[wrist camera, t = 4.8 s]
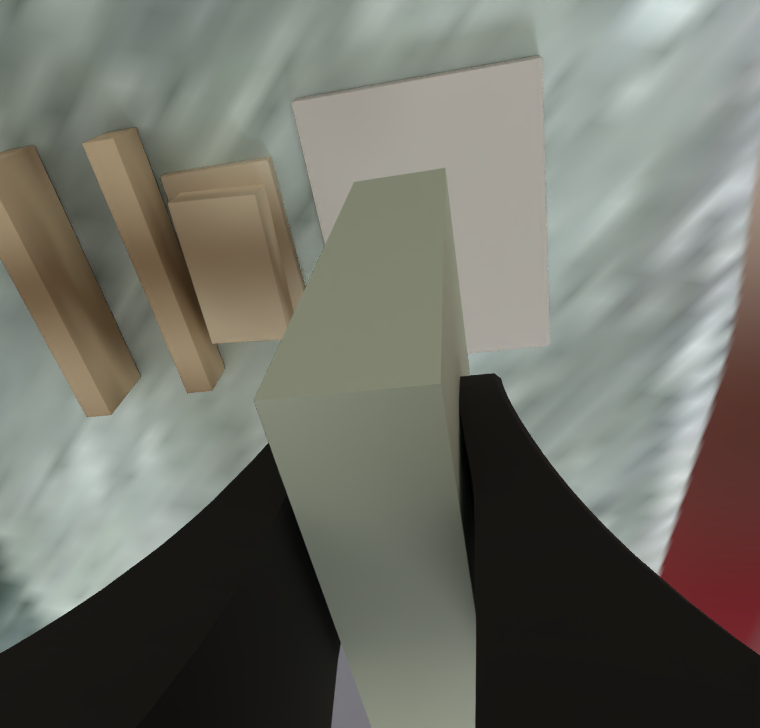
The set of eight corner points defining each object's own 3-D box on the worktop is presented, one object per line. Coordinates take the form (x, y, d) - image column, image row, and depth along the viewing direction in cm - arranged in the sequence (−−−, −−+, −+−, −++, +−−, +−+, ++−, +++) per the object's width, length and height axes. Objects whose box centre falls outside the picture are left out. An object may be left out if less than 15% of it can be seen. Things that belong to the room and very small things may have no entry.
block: (475, 424, 16) (493, 735, 10) (403, 429, 17) (373, 733, 10) (445, 167, 13) (440, 383, 6) (353, 181, 13) (253, 400, 6)
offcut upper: (296, 323, 21) (289, 339, 20) (222, 328, 22) (212, 343, 21) (264, 184, 19) (255, 194, 18) (180, 192, 19) (167, 203, 18)
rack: (225, 368, 23) (202, 407, 21) (118, 378, 24) (86, 417, 22) (135, 127, 18) (95, 146, 16) (6, 150, 19) (-47, 171, 17)
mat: (547, 336, 21) (549, 345, 21) (354, 355, 22) (352, 364, 22) (539, 55, 16) (542, 57, 16) (296, 98, 18) (291, 102, 17)
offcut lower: (318, 314, 22) (312, 329, 21) (228, 324, 23) (218, 339, 22) (276, 150, 19) (267, 160, 18) (173, 168, 20) (159, 177, 19)
